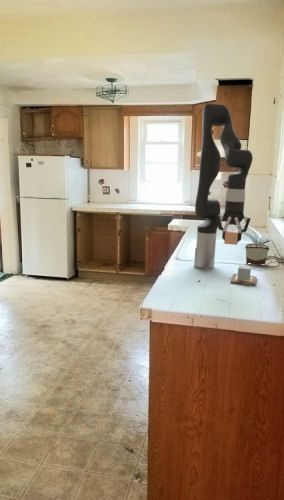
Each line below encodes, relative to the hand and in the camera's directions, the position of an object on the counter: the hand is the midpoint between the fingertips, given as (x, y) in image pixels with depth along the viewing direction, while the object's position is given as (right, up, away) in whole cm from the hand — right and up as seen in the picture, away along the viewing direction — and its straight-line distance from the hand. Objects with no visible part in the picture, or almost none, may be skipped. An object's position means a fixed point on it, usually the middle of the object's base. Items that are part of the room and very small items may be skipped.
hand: (231, 240), depth 156 cm
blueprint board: (+7, -17, +6) cm, 20 cm away
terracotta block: (0, -1, 0) cm, 1 cm away
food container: (+21, -11, +38) cm, 45 cm away
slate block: (+7, -16, +6) cm, 19 cm away
